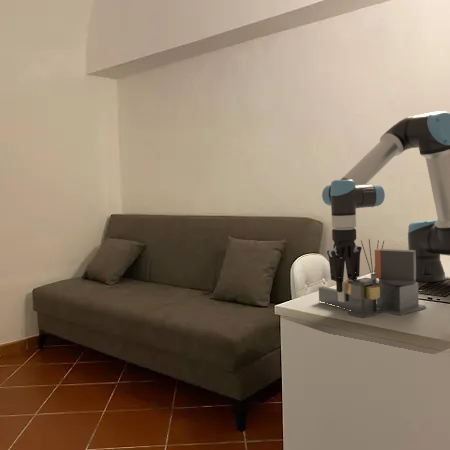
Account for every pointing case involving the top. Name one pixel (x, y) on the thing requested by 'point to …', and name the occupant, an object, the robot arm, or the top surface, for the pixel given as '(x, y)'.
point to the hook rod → (365, 290)
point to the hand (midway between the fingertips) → (346, 300)
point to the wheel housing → (399, 299)
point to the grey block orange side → (395, 267)
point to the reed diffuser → (371, 262)
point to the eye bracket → (352, 298)
